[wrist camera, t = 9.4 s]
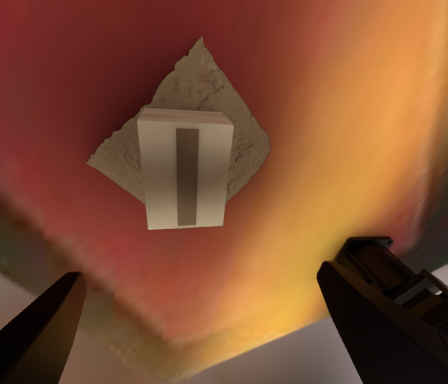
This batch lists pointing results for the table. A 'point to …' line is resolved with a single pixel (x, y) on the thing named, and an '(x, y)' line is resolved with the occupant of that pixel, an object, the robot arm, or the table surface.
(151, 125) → the taped cardboard box
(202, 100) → the clay tablet
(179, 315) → the table surface
